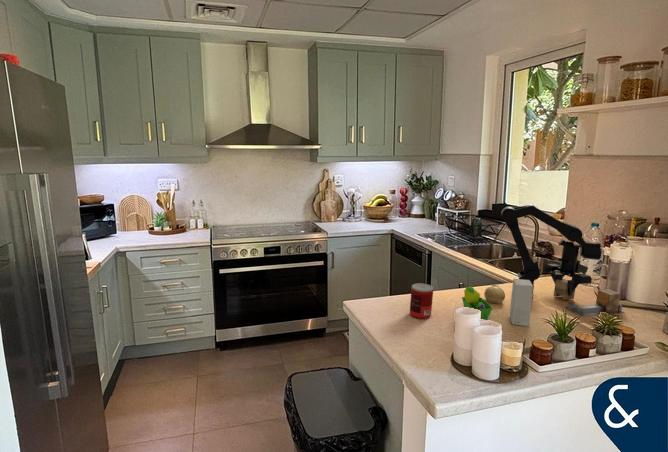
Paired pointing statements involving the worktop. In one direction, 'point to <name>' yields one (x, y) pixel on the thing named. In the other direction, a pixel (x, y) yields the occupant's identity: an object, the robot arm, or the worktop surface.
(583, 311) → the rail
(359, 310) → the worktop surface
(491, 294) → the onion
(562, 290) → the grey stone block
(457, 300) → the worktop surface
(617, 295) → the taupe stone cube
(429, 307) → the canned food
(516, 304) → the skincare box
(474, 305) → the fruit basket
